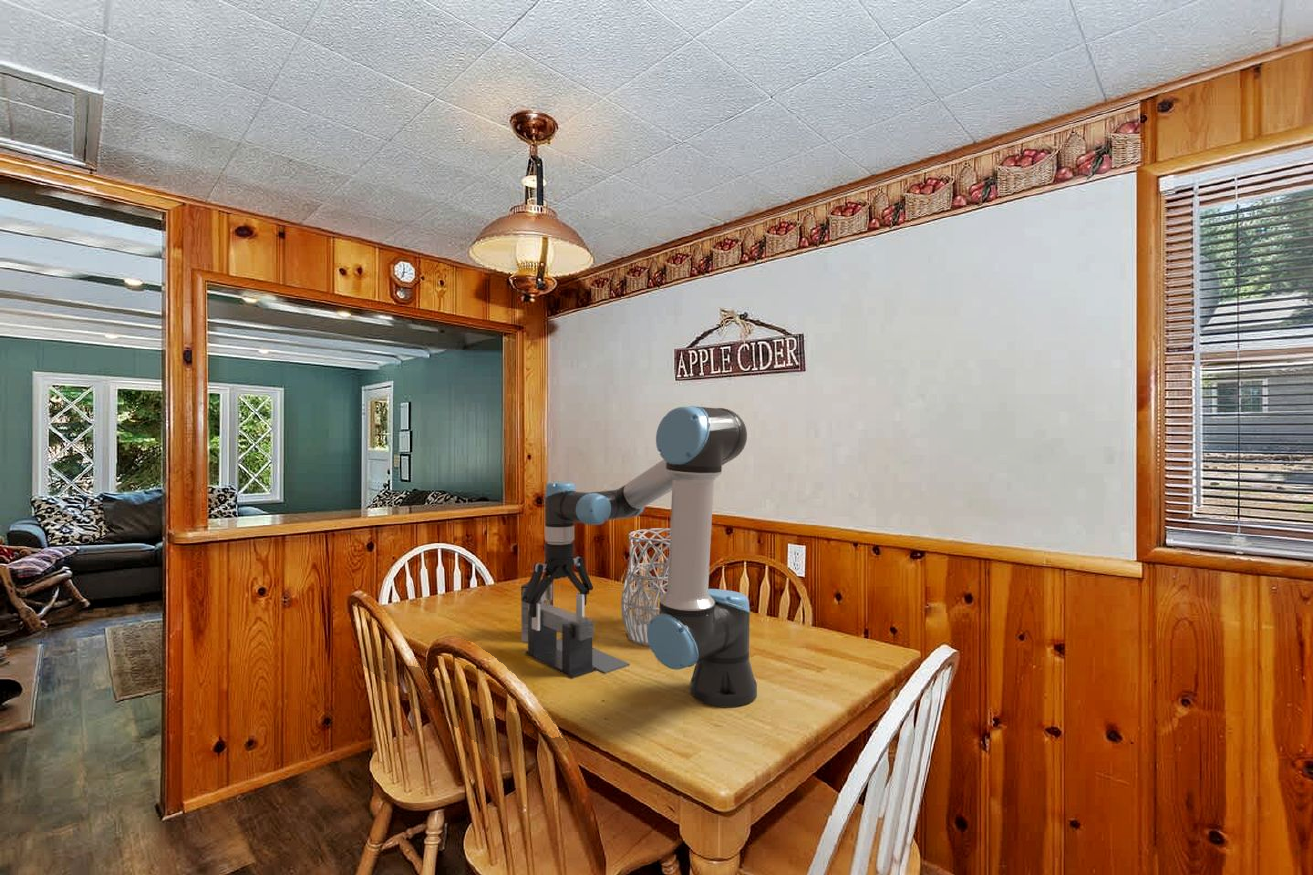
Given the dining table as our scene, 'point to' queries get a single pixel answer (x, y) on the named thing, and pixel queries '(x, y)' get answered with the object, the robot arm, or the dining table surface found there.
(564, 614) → the rail
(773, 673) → the dining table surface
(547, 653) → the rack
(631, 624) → the vase
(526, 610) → the coffee box
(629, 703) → the dining table surface
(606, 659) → the mat
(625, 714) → the dining table surface
